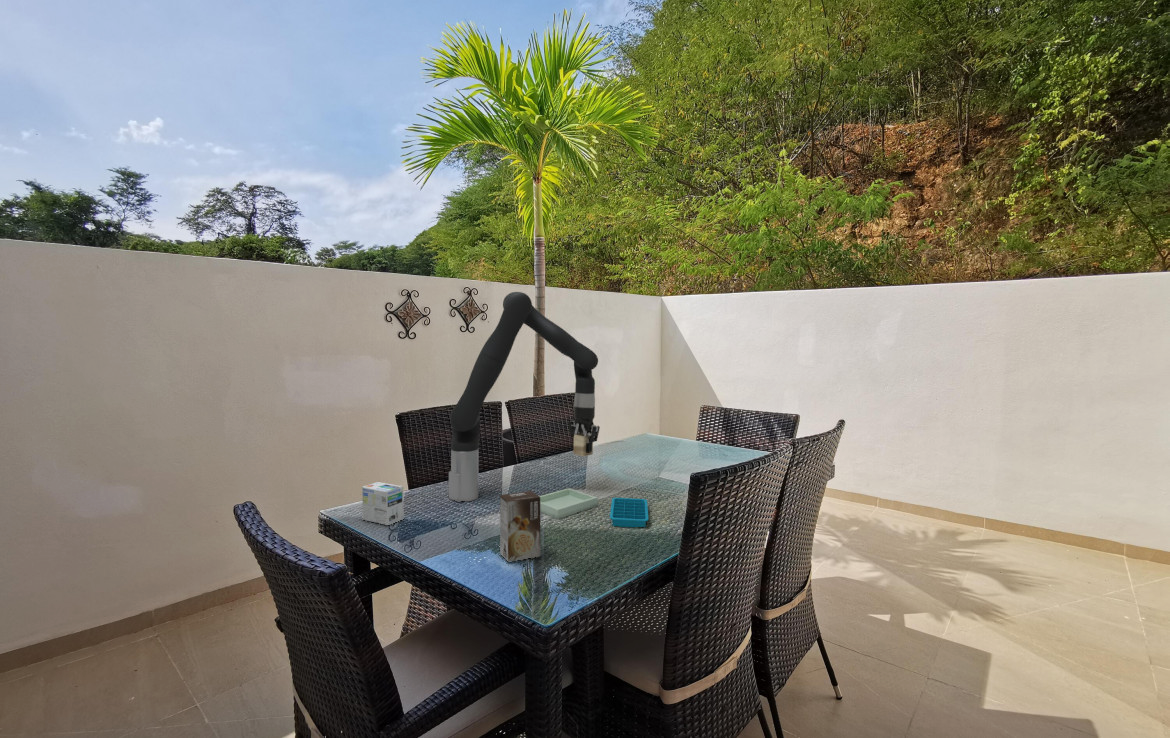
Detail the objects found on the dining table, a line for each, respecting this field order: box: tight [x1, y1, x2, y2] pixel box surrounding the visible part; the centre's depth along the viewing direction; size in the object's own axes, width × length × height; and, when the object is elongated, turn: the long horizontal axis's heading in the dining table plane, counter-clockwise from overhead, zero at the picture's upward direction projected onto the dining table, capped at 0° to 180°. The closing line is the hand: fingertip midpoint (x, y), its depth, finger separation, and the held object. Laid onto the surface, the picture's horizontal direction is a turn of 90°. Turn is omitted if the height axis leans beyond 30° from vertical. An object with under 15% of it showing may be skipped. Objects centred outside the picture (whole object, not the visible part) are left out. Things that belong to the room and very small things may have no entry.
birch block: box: [572, 433, 594, 457], centre depth 192 cm, size 5×5×7 cm
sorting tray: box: [538, 487, 599, 520], centre depth 176 cm, size 18×14×3 cm
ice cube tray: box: [609, 497, 649, 528], centre depth 168 cm, size 12×20×3 cm, turn 175°
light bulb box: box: [361, 481, 405, 526], centre depth 160 cm, size 11×7×11 cm, turn 65°
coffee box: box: [499, 490, 542, 562], centre depth 137 cm, size 9×6×16 cm
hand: (583, 451), depth 192 cm, fingers closed on birch block, 5 cm apart
